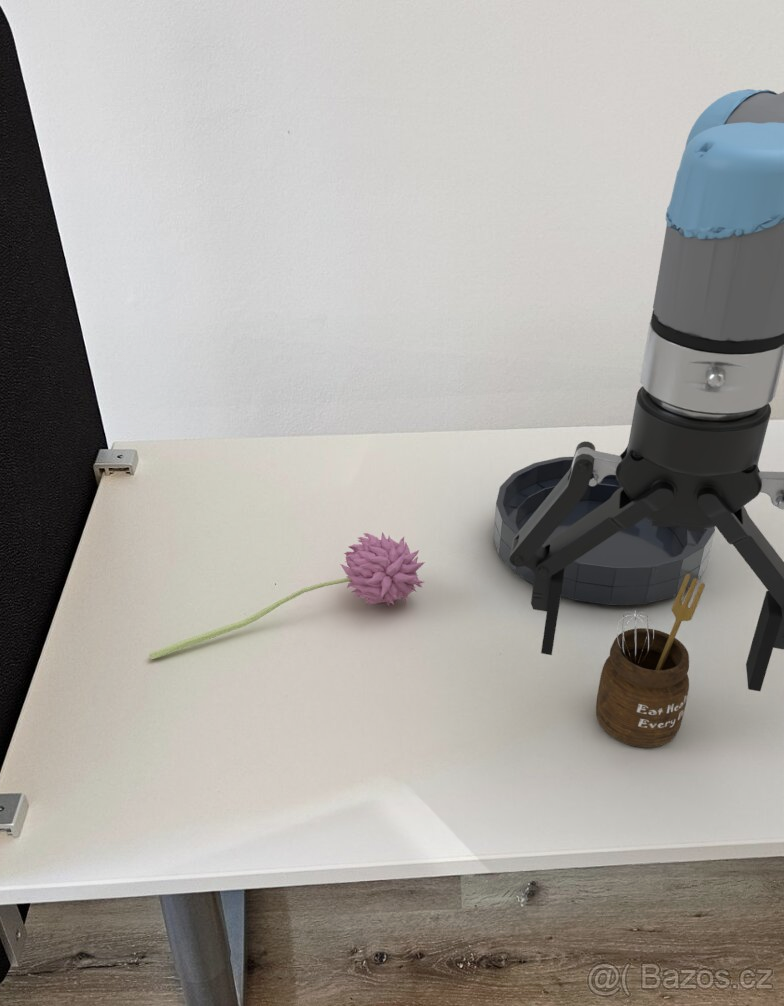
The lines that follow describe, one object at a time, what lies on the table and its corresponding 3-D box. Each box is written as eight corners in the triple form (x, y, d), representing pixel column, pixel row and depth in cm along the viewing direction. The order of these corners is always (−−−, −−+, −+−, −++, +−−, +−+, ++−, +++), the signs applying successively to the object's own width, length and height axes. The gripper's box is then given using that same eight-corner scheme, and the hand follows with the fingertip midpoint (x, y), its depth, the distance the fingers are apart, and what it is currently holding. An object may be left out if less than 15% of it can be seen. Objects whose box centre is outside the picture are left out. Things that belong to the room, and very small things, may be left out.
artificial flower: (176, 717, 88) (444, 602, 92) (152, 648, 85) (430, 532, 89) (154, 678, 94) (407, 571, 98) (131, 612, 91) (392, 505, 95)
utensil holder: (576, 713, 81) (596, 586, 75) (637, 682, 83) (662, 557, 77) (637, 762, 76) (664, 632, 70) (700, 729, 79) (732, 600, 72)
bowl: (702, 508, 102) (711, 468, 100) (707, 626, 88) (718, 582, 86) (505, 485, 108) (509, 446, 106) (480, 591, 94) (484, 549, 92)
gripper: (485, 400, 66) (461, 660, 78) (957, 447, 58) (853, 731, 70) (500, 350, 72) (476, 599, 84) (931, 387, 64) (839, 658, 75)
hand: (647, 660), depth 77 cm, fingers open, 13 cm apart
